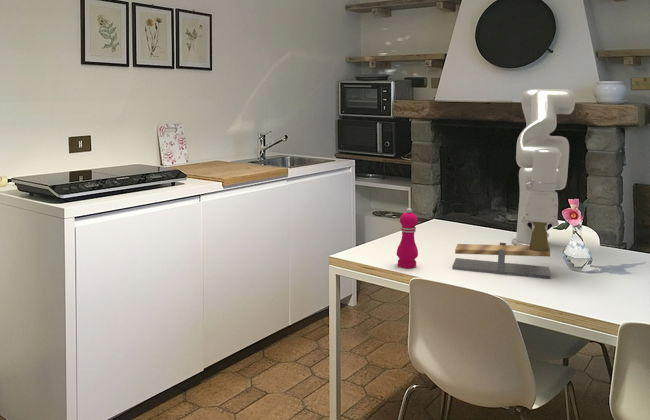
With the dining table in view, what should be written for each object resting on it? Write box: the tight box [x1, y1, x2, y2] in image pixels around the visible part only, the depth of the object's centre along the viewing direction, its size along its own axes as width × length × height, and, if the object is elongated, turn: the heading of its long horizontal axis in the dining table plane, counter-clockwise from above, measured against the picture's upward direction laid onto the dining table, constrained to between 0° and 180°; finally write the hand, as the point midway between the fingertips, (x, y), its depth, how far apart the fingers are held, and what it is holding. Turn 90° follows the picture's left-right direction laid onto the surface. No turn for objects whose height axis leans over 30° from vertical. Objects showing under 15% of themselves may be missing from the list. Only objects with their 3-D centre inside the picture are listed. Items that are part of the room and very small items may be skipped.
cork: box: [529, 222, 549, 251], centre depth 201 cm, size 6×6×11 cm
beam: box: [454, 243, 551, 258], centre depth 206 cm, size 30×8×2 cm, turn 72°
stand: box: [451, 242, 551, 280], centre depth 207 cm, size 31×11×8 cm, turn 73°
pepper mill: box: [396, 207, 419, 269], centre depth 208 cm, size 7×7×20 cm
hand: (538, 242), depth 202 cm, fingers closed on cork, 1 cm apart
